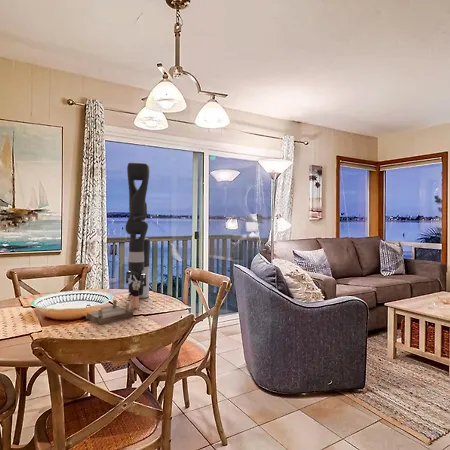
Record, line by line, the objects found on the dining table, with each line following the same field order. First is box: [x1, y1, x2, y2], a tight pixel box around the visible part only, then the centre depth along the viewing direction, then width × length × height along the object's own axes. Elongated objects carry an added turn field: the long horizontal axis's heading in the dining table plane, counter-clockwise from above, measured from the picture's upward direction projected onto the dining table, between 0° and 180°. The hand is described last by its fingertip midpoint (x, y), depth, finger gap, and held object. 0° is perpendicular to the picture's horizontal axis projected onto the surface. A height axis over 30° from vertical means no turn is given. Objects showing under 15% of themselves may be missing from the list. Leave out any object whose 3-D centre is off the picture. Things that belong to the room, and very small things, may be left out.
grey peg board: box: [85, 299, 134, 326], centre depth 160 cm, size 16×16×6 cm
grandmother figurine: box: [127, 283, 143, 311], centre depth 175 cm, size 8×4×13 cm, turn 131°
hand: (135, 293), depth 175 cm, fingers open, 8 cm apart
